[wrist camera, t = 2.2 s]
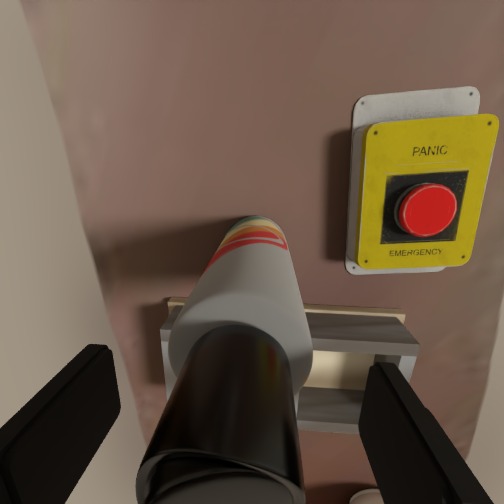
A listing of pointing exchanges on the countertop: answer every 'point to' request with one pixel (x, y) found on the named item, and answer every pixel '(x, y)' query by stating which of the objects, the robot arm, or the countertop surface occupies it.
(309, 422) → the socket board
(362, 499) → the lidded jar
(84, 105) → the countertop surface
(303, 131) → the countertop surface
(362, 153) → the emergency button
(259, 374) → the lotion bottle
